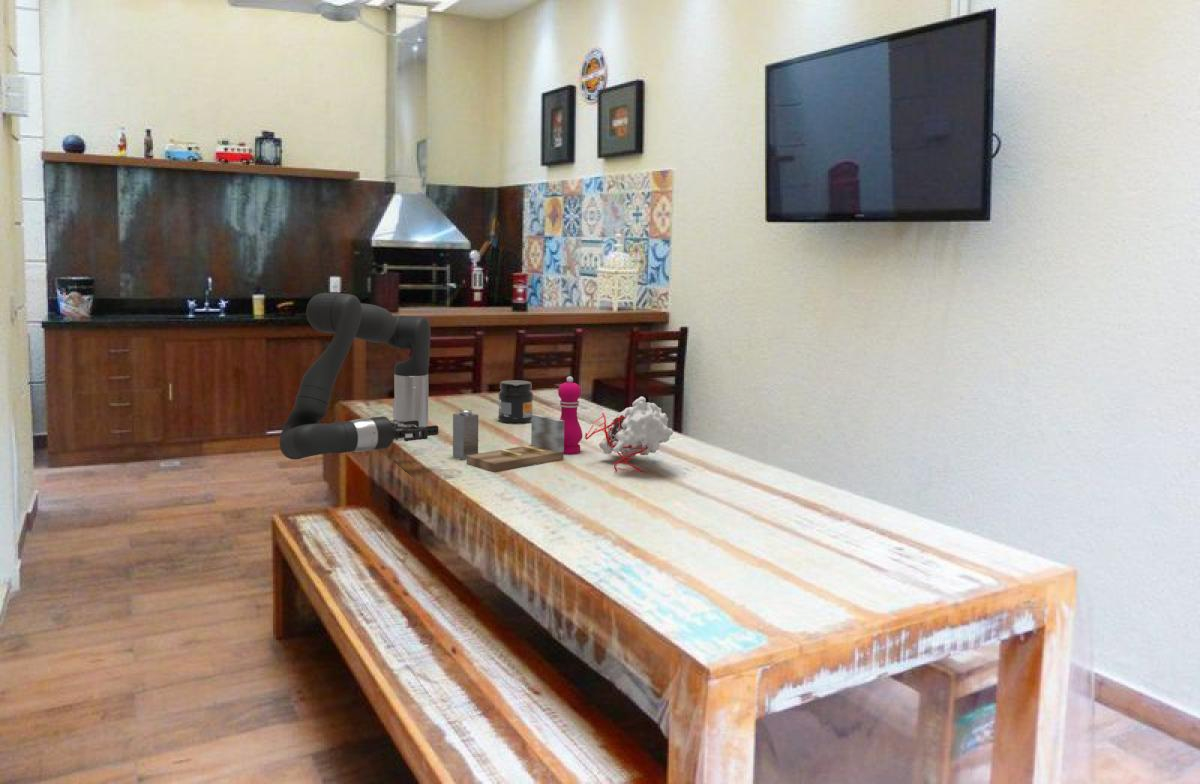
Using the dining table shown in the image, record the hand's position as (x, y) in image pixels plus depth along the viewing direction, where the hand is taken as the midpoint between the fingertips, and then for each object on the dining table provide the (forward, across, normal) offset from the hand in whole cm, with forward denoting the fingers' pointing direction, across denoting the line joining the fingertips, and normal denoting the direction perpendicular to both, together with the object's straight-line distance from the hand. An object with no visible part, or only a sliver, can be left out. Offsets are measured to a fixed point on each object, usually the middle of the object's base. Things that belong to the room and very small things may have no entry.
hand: (427, 427), depth 227 cm
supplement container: (+52, +31, +8) cm, 62 cm away
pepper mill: (+36, -11, +9) cm, 39 cm away
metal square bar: (+12, 0, +9) cm, 15 cm away
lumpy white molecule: (+38, -33, +9) cm, 51 cm away
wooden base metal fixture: (+18, -11, +9) cm, 23 cm away
